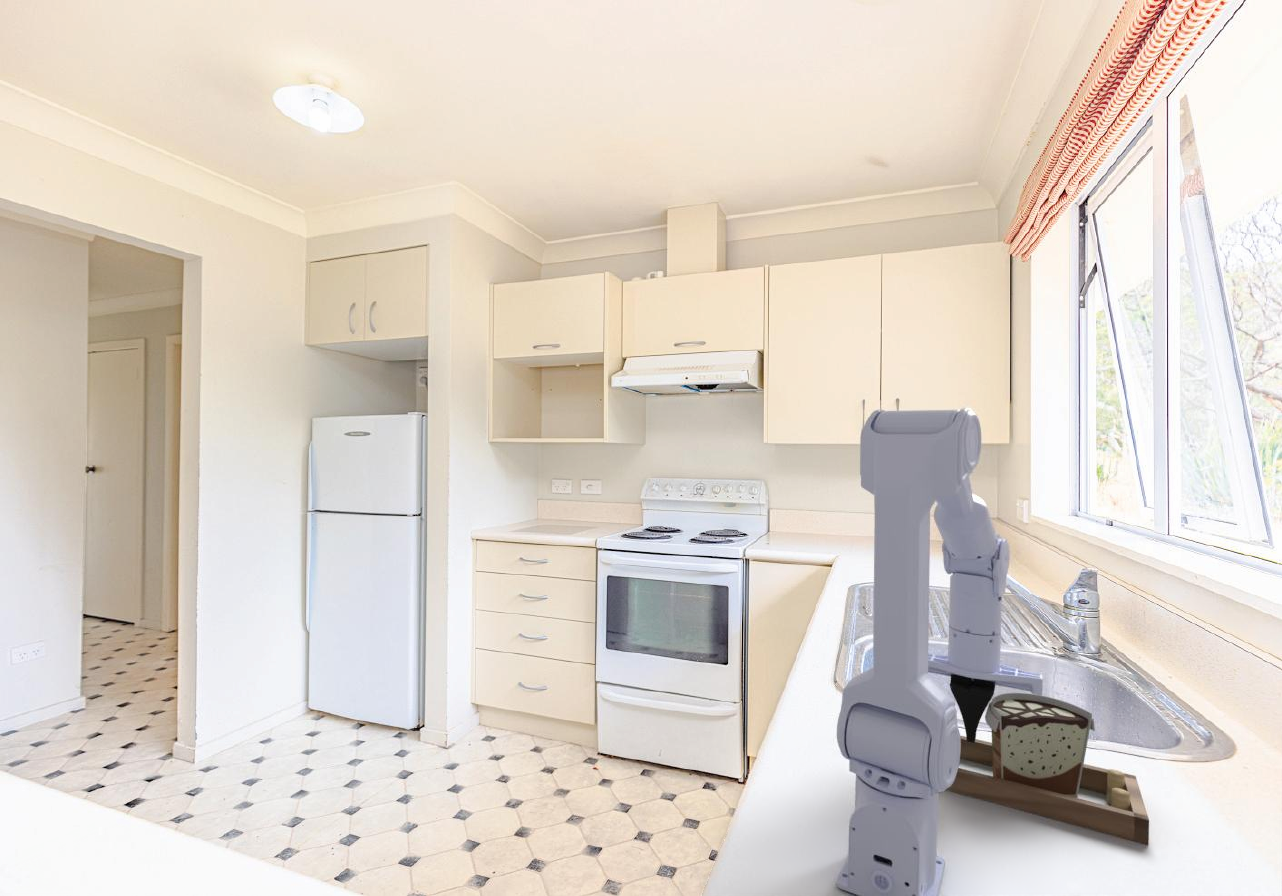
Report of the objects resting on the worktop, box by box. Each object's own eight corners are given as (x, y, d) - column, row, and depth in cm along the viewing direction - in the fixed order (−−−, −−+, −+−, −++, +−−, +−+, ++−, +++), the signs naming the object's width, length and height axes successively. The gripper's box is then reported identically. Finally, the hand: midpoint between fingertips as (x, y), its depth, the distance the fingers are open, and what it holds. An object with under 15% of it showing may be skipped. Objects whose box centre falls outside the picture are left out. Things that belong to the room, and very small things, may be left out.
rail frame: (1148, 844, 66) (1149, 810, 66) (933, 786, 77) (934, 757, 77) (1135, 797, 76) (1135, 767, 76) (945, 751, 86) (946, 724, 86)
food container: (1051, 767, 82) (1057, 690, 81) (1089, 796, 76) (1096, 713, 75) (958, 769, 81) (964, 690, 80) (990, 799, 75) (996, 714, 74)
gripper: (1043, 631, 80) (1040, 742, 80) (916, 613, 87) (913, 714, 87) (1043, 645, 74) (1040, 765, 74) (907, 624, 81) (904, 733, 81)
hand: (971, 739), depth 80 cm, fingers closed
